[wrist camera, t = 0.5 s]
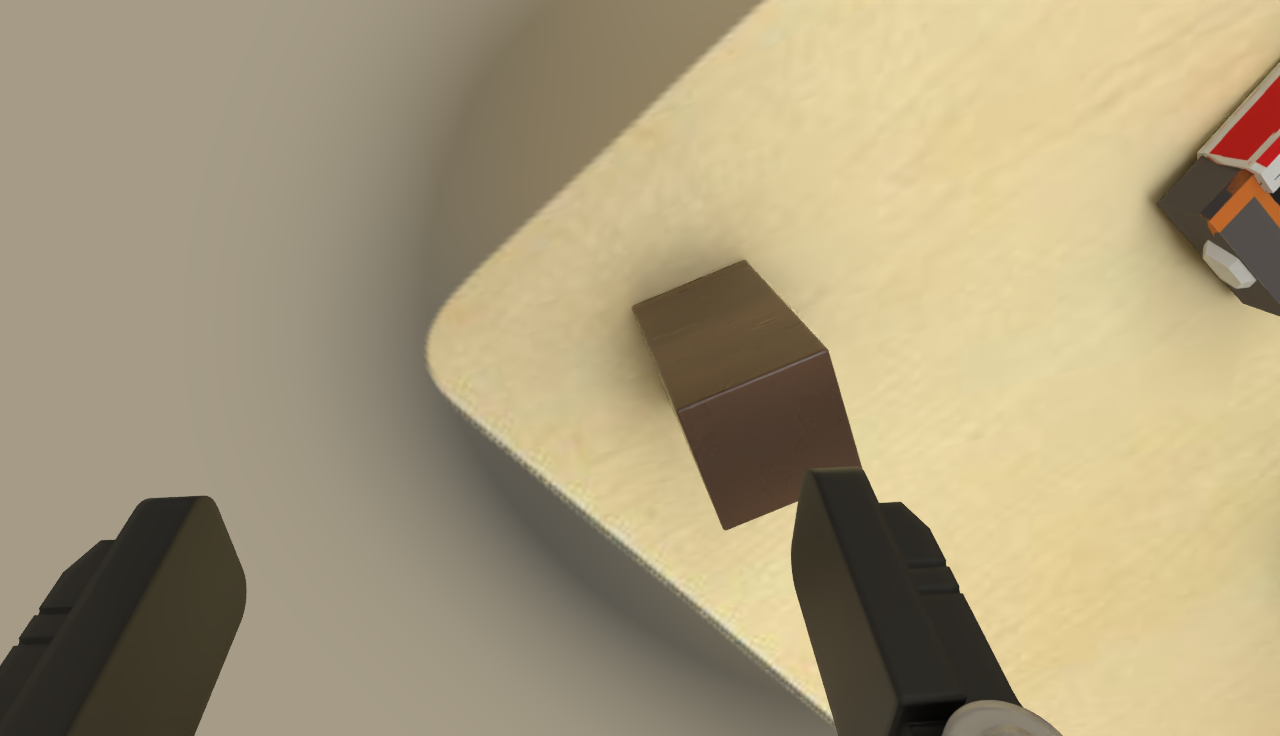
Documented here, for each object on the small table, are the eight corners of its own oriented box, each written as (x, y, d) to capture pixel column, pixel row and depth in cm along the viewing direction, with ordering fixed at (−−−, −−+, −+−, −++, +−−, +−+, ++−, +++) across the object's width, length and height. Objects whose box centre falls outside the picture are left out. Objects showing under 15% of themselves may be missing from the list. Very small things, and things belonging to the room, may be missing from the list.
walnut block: (630, 306, 28) (675, 411, 21) (745, 258, 28) (828, 348, 21) (671, 405, 30) (724, 532, 23) (778, 361, 30) (864, 475, 23)
